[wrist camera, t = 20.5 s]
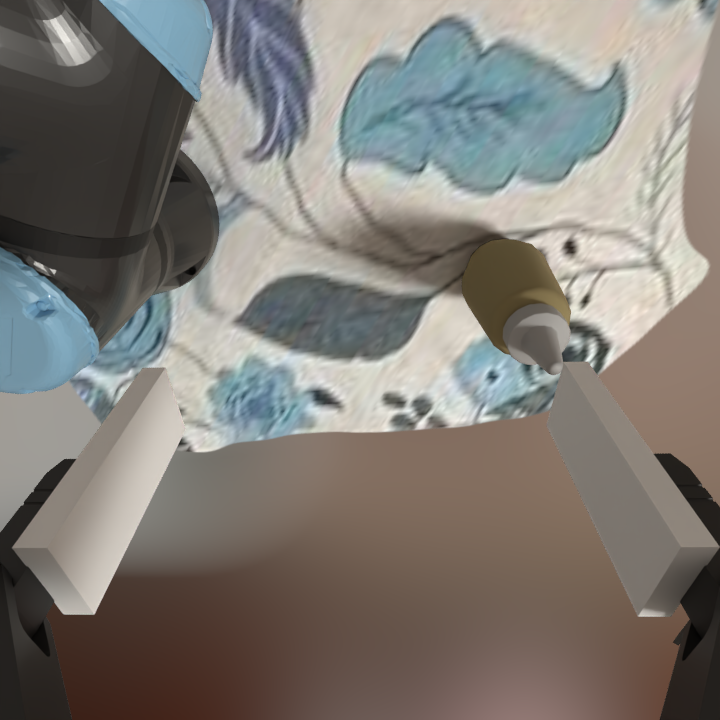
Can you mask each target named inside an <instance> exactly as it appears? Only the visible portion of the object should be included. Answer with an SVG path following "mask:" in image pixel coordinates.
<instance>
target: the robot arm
mask: <svg viewBox="0 0 720 720" xmlns="http://www.w3.org/2000/svg"><path fill="white" fill-rule="evenodd" d="M212 35H213V26H212V19H211V16H210V13H209V10H208V8H207V5H206V3H205V1H204V0H0V392H5V393H15V394H25V393H33V392H35V391H48V390H52V389H54V388H57V387H59V386H61V385H63V384H64V383H66V382H67V381H69V380H70V379H71V378H72V377H73V376H75V375H76V374H77V373H78V372H79V371H80V370H82V369H83V368H85V367H87V366H88V365H91V364H92V363H93V362H94V360H95V358H96V357H97V356H98V354H99V351H100V350H101V349H102V348H103V347H104V346H105V345H106V344H107V343H108V342H109V341H110V340H111V339H112V337H113V336H114V335H115V334H116V333H117V332H118V331H119V330H120V329H121V328H122V327H123V326H124V325H125V323H126V322H127V321H128V320H129V319H130V318H131V317H132V316H133V315H134V314H135V313H136V312H137V311H138V309H139V308H140V307H141V306H142V305H143V304H144V303H145V302H146V301H147V300H148V299H149V298H150V296H152V295H155V294H159V293H163V292H166V291H170V290H173V289H176V288H178V287H181V286H183V285H184V284H186V283H188V282H189V281H191V280H192V279H193V278H194V277H196V276H197V275H198V274H199V272H200V271H201V270H202V269H203V268H204V267H205V265H206V264H207V263H208V261H209V260H210V258H211V257H212V255H213V253H214V251H215V248H216V245H217V241H218V236H219V216H218V210H217V206H216V202H215V199H214V196H213V194H212V191H211V189H210V187H209V185H208V183H207V181H206V179H205V178H204V176H203V175H202V173H201V172H200V170H199V169H198V168H197V166H196V165H195V164H194V163H193V162H192V160H191V159H190V158H189V157H188V156H187V155H186V154H185V153H184V152H183V151H181V150H180V147H181V144H182V141H183V138H184V134H185V131H186V128H187V125H188V122H189V119H190V115H191V112H192V109H193V106H194V103H195V101H196V102H199V101H200V99H201V94H202V93H201V91H200V89H199V87H200V84H201V80H202V76H203V72H204V69H205V65H206V61H207V57H208V54H209V50H210V46H211V42H212ZM547 427H548V430H549V431H550V434H551V436H552V438H553V440H554V442H555V444H556V446H557V448H558V450H559V453H560V455H561V457H562V459H563V461H564V463H565V465H566V467H567V469H568V471H569V473H570V476H571V478H572V480H573V482H574V484H575V486H576V488H577V490H578V492H579V494H580V496H581V498H582V500H583V503H584V505H585V507H586V509H587V511H588V513H589V515H590V517H591V519H592V521H593V523H594V526H595V528H596V530H597V532H598V534H599V536H600V538H601V540H602V542H603V544H604V547H605V548H606V551H607V553H608V555H609V557H610V559H611V561H612V563H613V565H614V567H615V570H616V572H617V574H618V576H619V578H620V580H621V582H622V584H623V586H624V588H625V590H626V593H627V595H628V596H629V599H630V601H631V602H632V605H633V607H634V609H635V611H636V613H637V615H638V616H650V617H653V616H654V617H657V616H658V617H659V616H660V617H664V616H665V617H669V616H670V617H671V616H672V614H673V613H674V612H675V610H676V609H677V607H678V606H679V604H680V603H681V604H682V606H683V608H684V610H685V611H686V613H687V615H688V617H689V618H690V620H689V621H688V622H687V624H686V625H685V626H684V628H683V629H682V630H681V632H680V633H679V634H678V636H677V637H676V639H675V640H674V642H673V643H675V644H677V645H679V644H680V647H679V651H678V654H677V658H676V662H675V666H674V669H673V673H672V676H671V680H670V684H669V688H668V691H667V695H666V698H665V702H664V706H663V709H662V713H661V717H660V720H720V507H719V506H718V504H717V503H716V502H713V498H712V497H711V495H710V494H709V493H708V491H707V490H706V489H705V488H703V487H702V484H701V483H700V481H699V480H698V479H697V477H696V476H695V475H694V473H693V472H692V471H691V470H690V468H689V467H687V466H686V465H685V464H683V463H682V462H681V461H679V460H678V459H677V458H675V457H674V456H673V455H672V454H653V453H652V451H651V450H650V448H649V447H648V446H647V444H646V443H645V441H644V440H643V439H642V437H641V436H640V434H639V433H638V432H637V431H636V429H635V427H634V426H633V425H632V423H631V422H630V420H629V419H628V418H627V416H626V415H625V414H624V412H623V411H622V409H621V408H620V406H619V405H618V404H617V402H616V401H615V399H614V398H613V397H612V395H611V394H610V392H609V391H608V389H607V388H606V387H605V385H604V384H603V382H602V381H601V380H600V378H599V377H598V375H597V374H596V373H595V371H594V370H593V368H592V367H591V366H590V364H589V363H588V362H564V363H563V367H562V371H561V374H560V378H559V382H558V385H557V389H556V393H555V396H554V400H553V404H552V407H551V411H550V415H549V418H548V422H547ZM185 430H186V428H185V425H184V422H183V419H182V416H181V413H180V410H179V407H178V404H177V401H176V398H175V395H174V392H173V389H172V386H171V383H170V380H169V377H168V374H167V371H166V368H142V370H141V371H140V373H139V374H138V375H137V377H136V378H135V379H134V381H133V382H132V384H131V385H130V386H129V388H128V389H127V390H126V392H125V393H124V395H123V396H122V397H121V399H120V400H119V401H118V403H117V404H116V406H115V407H114V408H113V410H112V411H111V412H110V414H109V415H108V417H107V418H106V419H105V421H104V422H103V423H102V425H101V426H100V428H99V429H98V430H97V432H96V433H95V434H94V436H93V437H92V439H91V440H90V442H89V443H88V444H87V445H86V447H85V448H84V450H83V451H82V452H81V454H80V455H79V456H78V458H77V459H64V460H63V461H61V462H60V463H59V464H58V465H56V466H55V467H54V468H53V469H51V470H50V471H49V472H47V473H46V475H45V476H44V477H43V479H42V480H41V481H40V482H39V483H38V485H37V486H36V487H35V489H34V492H32V493H31V494H30V495H29V496H28V498H27V499H26V500H25V501H24V505H23V506H21V507H20V508H19V509H18V511H17V512H16V513H15V514H14V516H13V517H12V518H11V520H10V521H9V522H8V523H7V525H6V526H5V527H4V529H3V530H2V531H1V532H0V720H72V717H71V714H70V709H69V704H68V700H67V696H66V691H65V687H64V682H63V678H62V673H61V669H60V665H59V660H58V656H57V651H56V647H55V643H54V638H53V634H52V630H51V625H50V623H49V621H48V619H47V618H46V615H47V613H48V611H49V610H50V608H51V606H52V604H53V603H55V604H56V605H57V606H58V608H59V609H60V610H61V611H62V613H63V614H95V612H96V610H97V608H98V606H99V604H100V602H101V600H102V597H103V595H104V594H105V592H106V590H107V588H108V585H109V583H110V581H111V579H112V577H113V575H114V573H115V571H116V569H117V567H118V565H119V563H120V561H121V559H122V557H123V555H124V553H125V551H126V549H127V547H128V545H129V543H130V541H131V539H132V537H133V535H134V533H135V531H136V529H137V527H138V525H139V523H140V521H141V518H142V517H143V515H144V513H145V511H146V508H147V506H148V504H149V502H150V500H151V498H152V496H153V494H154V492H155V490H156V488H157V486H158V484H159V482H160V480H161V478H162V476H163V474H164V472H165V470H166V468H167V466H168V464H169V462H170V460H171V458H172V456H173V454H174V451H175V450H176V448H177V446H178V444H179V442H180V440H181V438H182V436H183V434H184V432H185Z"/></svg>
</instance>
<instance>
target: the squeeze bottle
mask: <svg viewBox="0 0 720 720" xmlns="http://www.w3.org/2000/svg"><path fill="white" fill-rule="evenodd" d="M462 294H463V296H464V298H465V300H466V302H467V304H468V306H469V308H470V309H471V311H472V313H473V314H474V316H475V317H476V319H477V320H478V322H479V323H480V325H481V327H482V328H483V330H484V331H485V333H486V334H487V336H488V337H489V339H490V340H491V342H492V344H493V345H494V346H495V347H496V348H498V349H499V350H501V351H502V352H503V353H505V354H509V355H511V357H513V358H514V359H515V360H517V361H518V362H520V363H524V364H528V365H535V364H538V365H540V366H541V367H542V368H543V369H544V370H545V371H546V372H547V373H549V374H551V375H556V374H559V373H560V372H561V371H562V367H563V359H562V354H561V353H562V352H563V351H564V349H565V347H566V346H567V344H568V342H569V339H570V328H569V322H570V315H571V310H570V308H569V305H568V302H567V300H566V297H565V296H564V294H563V292H562V290H561V288H560V286H559V284H558V282H557V280H556V278H555V276H554V275H553V273H552V271H551V269H550V267H549V265H548V263H547V261H546V259H545V257H544V255H543V254H542V253H541V252H540V251H538V250H537V249H536V248H535V247H534V246H533V245H532V244H529V243H525V242H521V241H518V240H510V239H500V240H492V241H489V242H487V243H485V244H483V245H482V246H480V247H479V248H478V249H477V250H476V251H475V252H474V253H473V254H472V256H471V258H470V260H469V263H468V265H467V268H466V270H465V273H464V275H463V277H462Z"/></svg>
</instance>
